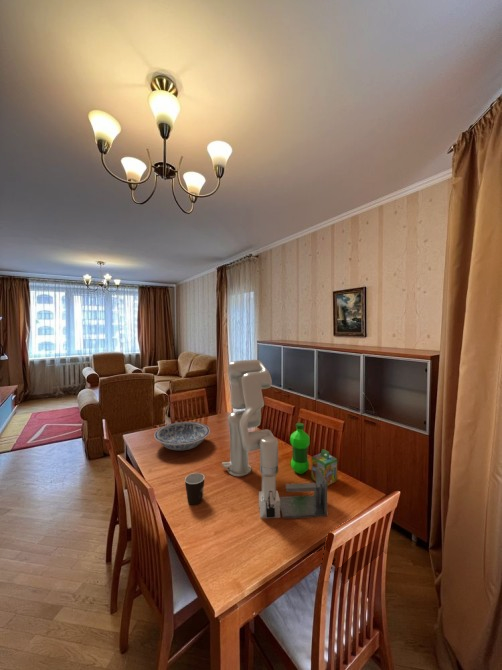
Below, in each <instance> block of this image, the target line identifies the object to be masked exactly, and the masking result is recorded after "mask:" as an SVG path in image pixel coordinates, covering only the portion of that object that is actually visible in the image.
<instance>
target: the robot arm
mask: <svg viewBox="0 0 502 670" xmlns="http://www.w3.org/2000/svg"><path fill="white" fill-rule="evenodd" d="M227 374H228V375H227V376H228V378H229V383H230V404H231V407H232V409H234V410H236V411H233V412H231V413H230V414H229V415H228V418H227V423H228V427H229V428H228V429H229V439H230V440H229V450H230V451H229V452H230V454H229V455H230V458H229V461H226V462H225V461H224V462H223V461H222V462H221V466H222V467H223V468H224V469H227V472H228V474H229V475H231V476H234V477H244V476H247V475H249V474H250V473H251V472H252V466H251V465H250V464H249V452H252V451H258V450H259V473H260V474H261V491H262V494H263V500H264V501H267V517H275V506H274V500H275V499H276V491H277V487H276V486H277V483H276V481H277V479H276V478H277V477H276V475H278V473H279V441H278V439H277V437H275V436H274V434H273V433H272V431H271V430H270V429H261V430H254V431H249V429H254V428H257V427H259V426H260V425H261V421H262V420H261V419H262V413H261V411H262V408H263V407H264V406H265V402H264V401H265V400H264V398H263V397H264V396H263V392H262V390H266V389H269V388H271V387H272V385H273V381H272V376H271V374H270V371H269V370H268V369H267V368H266V366H265V365H264V363H263V362H262V361H261V360H259V359H247V360H246V359H245V360H244V359H243V360H234V361H231V362H229V364H228V365H227ZM268 497H269V498H270V499H268ZM269 501H270V504H269Z"/></svg>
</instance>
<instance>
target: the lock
mask: <svg viewBox="0 0 502 670" xmlns="http://www.w3.org/2000/svg"><path fill="white" fill-rule="evenodd" d="M279 497H280V494H279V492H278V490H276V499H275V500H274V506H275V517H267V501H264V500H263V494H262V490H261V491H258V509H259V519H278V518H279V519H280V518H281V508H280V498H279ZM268 499H270V498H269V497H268ZM269 504H270V501H269Z"/></svg>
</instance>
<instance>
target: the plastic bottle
mask: <svg viewBox="0 0 502 670" xmlns="http://www.w3.org/2000/svg"><path fill="white" fill-rule="evenodd" d="M295 429H296V430H295V431H293V432H292V433H291V434H290V439H289V442H290V445H291V446H292V458H291V461H290V467H291V469H292V470H293V471H295V473H296V474H298V475H299V474H300V475H301V474H305V473H306V472H307V471H308V470H309V469H310V461H309V459H308V447H309V446H310V443H311V442H310V439H311V438H310V436H309V434H308V433H306V431H304V429H305V424H304V423H302V422H297V423H295Z"/></svg>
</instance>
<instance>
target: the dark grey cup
mask: <svg viewBox="0 0 502 670" xmlns="http://www.w3.org/2000/svg"><path fill="white" fill-rule="evenodd" d="M184 484H185V491H186V498H187V503H188V504H189V505H190V506H196V505H199V504H201V503H202V502H203V498H204V489H205V488H204V487H205V475H204V474H203V473H201V472H193V473H189V474H188V475H186V476H185V478H184Z"/></svg>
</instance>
